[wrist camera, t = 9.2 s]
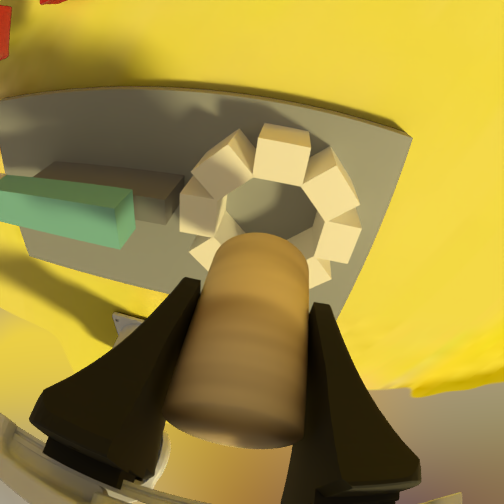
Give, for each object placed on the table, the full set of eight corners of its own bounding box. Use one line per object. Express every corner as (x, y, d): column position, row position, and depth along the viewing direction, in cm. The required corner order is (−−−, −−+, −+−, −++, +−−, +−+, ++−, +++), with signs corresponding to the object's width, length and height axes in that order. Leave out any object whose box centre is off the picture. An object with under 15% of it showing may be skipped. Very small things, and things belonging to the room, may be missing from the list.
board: (332, 314, 25) (334, 357, 22) (35, 249, 26) (12, 276, 22) (405, 132, 15) (434, 158, 12) (4, 98, 16) (-34, 115, 12)
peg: (298, 311, 14) (287, 453, 9) (211, 297, 15) (171, 433, 9) (319, 242, 12) (322, 416, 6) (213, 225, 12) (149, 386, 7)
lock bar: (136, 228, 17) (120, 251, 15) (5, 203, 17) (-12, 219, 15) (132, 188, 15) (113, 208, 13) (-2, 173, 15) (-22, 187, 14)
